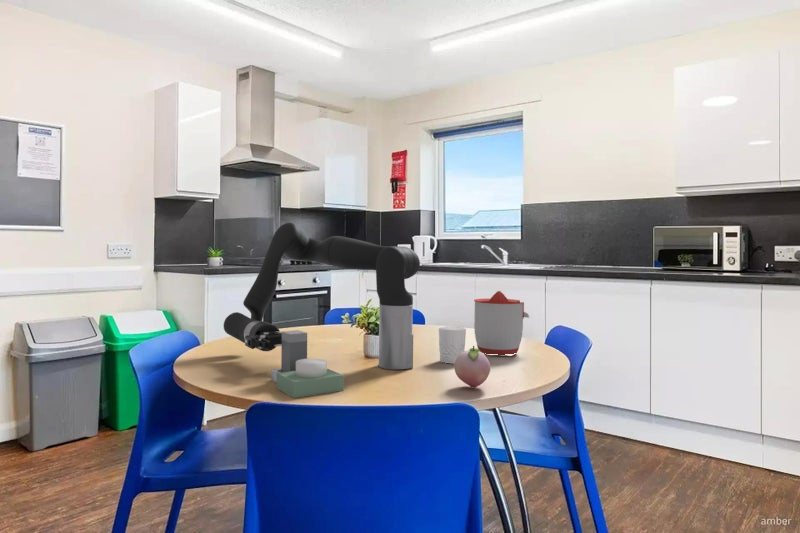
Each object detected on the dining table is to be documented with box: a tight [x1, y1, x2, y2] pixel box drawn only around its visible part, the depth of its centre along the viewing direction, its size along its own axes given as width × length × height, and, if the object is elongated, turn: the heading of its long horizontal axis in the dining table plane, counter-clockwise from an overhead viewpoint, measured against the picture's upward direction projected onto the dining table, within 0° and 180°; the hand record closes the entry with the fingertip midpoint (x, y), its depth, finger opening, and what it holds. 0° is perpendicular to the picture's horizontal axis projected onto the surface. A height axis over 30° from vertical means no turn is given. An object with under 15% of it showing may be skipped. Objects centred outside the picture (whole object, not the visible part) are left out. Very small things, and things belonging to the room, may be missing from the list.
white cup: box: [438, 325, 467, 364], centre depth 155 cm, size 8×8×10 cm
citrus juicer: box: [473, 290, 530, 355], centre depth 168 cm, size 16×17×20 cm
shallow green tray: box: [270, 357, 345, 399], centre depth 125 cm, size 18×12×6 cm, turn 35°
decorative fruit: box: [453, 345, 491, 388], centre depth 125 cm, size 9×8×10 cm
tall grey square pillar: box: [280, 329, 308, 372], centre depth 129 cm, size 5×4×12 cm
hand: (285, 344), depth 133 cm, fingers open, 8 cm apart
